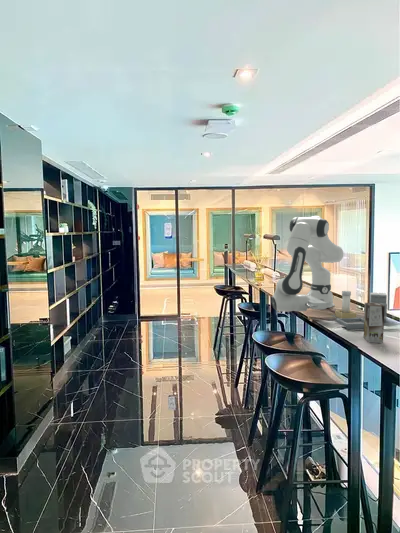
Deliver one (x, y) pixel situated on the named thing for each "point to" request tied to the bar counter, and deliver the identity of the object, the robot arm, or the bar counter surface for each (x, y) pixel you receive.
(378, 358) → the bar counter surface
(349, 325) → the parts tray
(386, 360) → the bar counter surface
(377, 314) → the coffee box
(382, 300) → the circuit breaker
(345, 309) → the cylinder
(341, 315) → the block
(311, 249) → the robot arm
